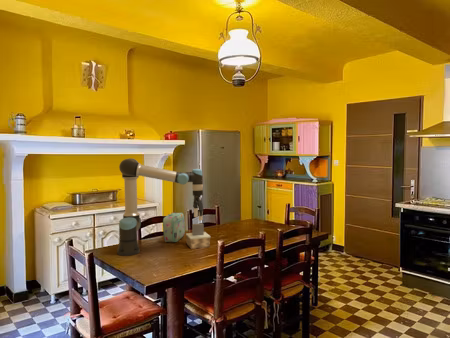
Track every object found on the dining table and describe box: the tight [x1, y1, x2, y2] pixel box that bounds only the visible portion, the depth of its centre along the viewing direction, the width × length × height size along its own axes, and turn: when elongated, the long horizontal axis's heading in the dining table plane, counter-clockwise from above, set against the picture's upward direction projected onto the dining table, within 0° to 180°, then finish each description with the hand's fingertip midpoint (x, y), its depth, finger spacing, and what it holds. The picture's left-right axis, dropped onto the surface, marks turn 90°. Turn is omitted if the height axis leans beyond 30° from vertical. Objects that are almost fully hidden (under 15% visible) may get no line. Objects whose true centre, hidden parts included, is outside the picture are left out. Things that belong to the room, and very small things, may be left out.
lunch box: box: [162, 212, 186, 243], centre depth 277 cm, size 27×10×21 cm, turn 168°
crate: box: [186, 235, 211, 250], centre depth 260 cm, size 14×14×7 cm
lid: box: [185, 223, 211, 239], centre depth 259 cm, size 15×15×10 cm
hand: (198, 218), depth 259 cm, fingers open, 13 cm apart
